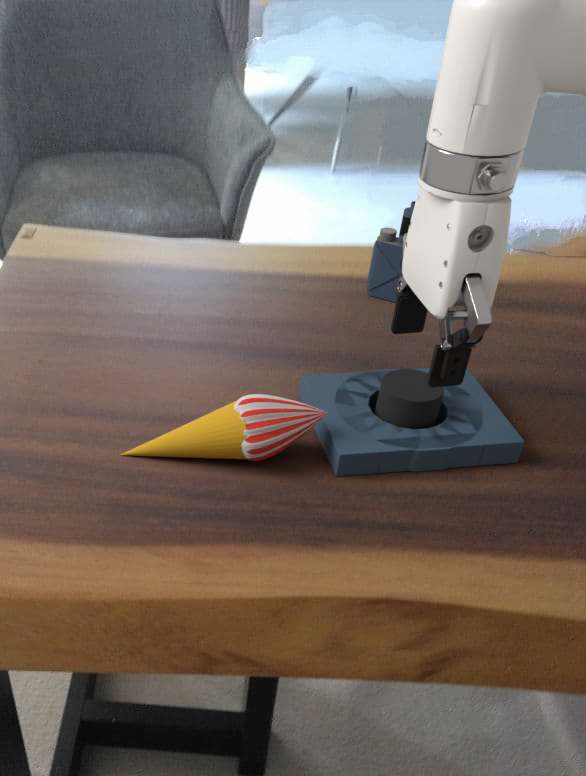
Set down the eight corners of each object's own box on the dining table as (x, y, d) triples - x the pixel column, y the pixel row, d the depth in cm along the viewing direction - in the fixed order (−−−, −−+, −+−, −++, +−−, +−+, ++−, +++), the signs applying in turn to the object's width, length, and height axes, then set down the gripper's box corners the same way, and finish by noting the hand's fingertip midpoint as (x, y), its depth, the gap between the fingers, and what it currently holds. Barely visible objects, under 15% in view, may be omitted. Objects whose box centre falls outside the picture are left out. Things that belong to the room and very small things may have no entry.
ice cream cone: (131, 483, 79) (330, 444, 77) (121, 490, 73) (337, 447, 71) (118, 422, 78) (319, 380, 76) (106, 424, 72) (325, 378, 70)
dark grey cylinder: (419, 409, 82) (431, 367, 79) (441, 442, 78) (454, 399, 75) (364, 413, 82) (373, 370, 78) (383, 446, 77) (393, 403, 74)
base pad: (459, 384, 86) (464, 364, 84) (518, 464, 76) (526, 443, 74) (298, 394, 84) (301, 373, 82) (336, 477, 74) (340, 456, 72)
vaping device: (401, 304, 100) (422, 208, 92) (362, 294, 102) (379, 199, 94) (408, 297, 102) (429, 201, 94) (369, 287, 104) (387, 192, 96)
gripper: (566, 204, 57) (501, 404, 69) (470, 131, 70) (428, 311, 81) (467, 209, 56) (418, 411, 68) (388, 135, 69) (358, 316, 81)
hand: (424, 357), depth 75 cm, fingers open, 9 cm apart
